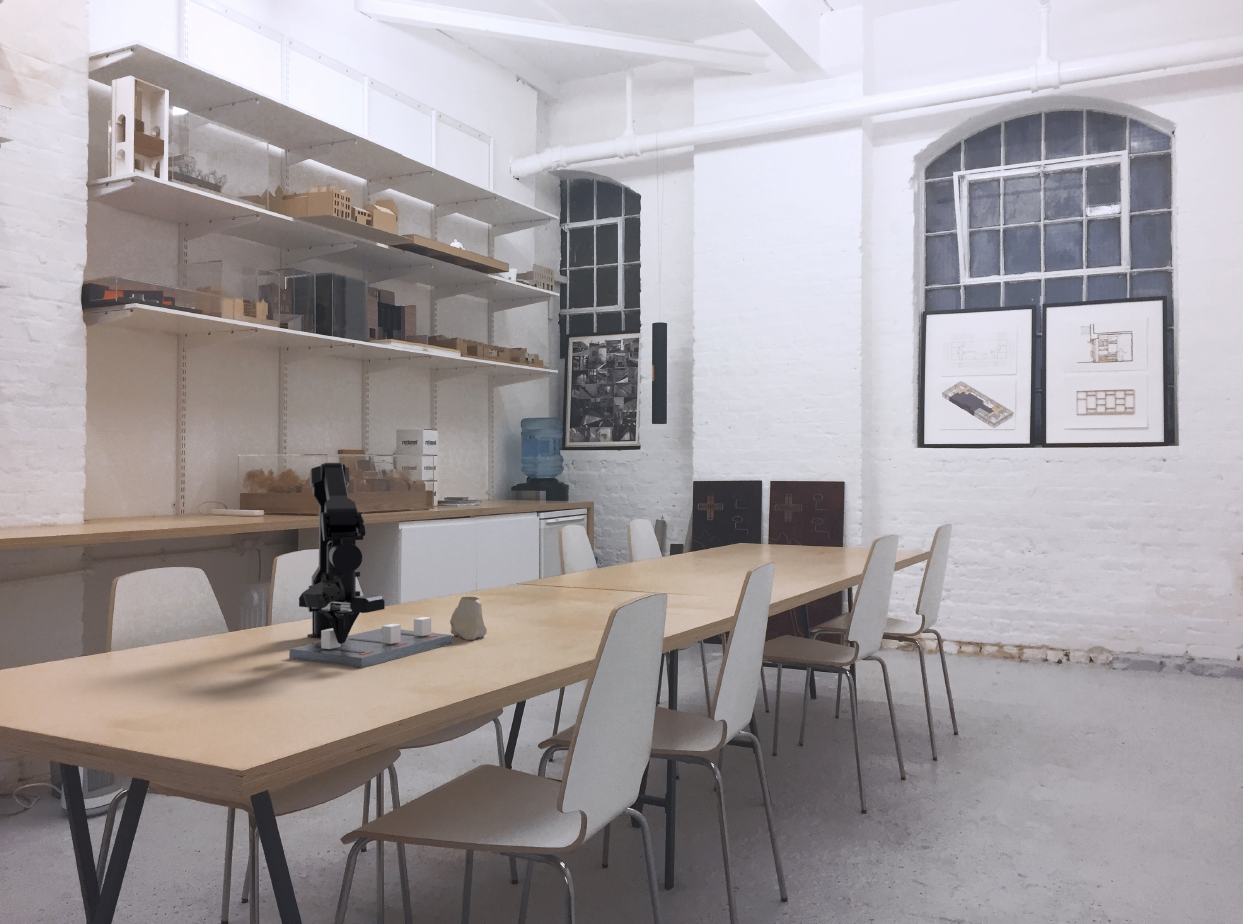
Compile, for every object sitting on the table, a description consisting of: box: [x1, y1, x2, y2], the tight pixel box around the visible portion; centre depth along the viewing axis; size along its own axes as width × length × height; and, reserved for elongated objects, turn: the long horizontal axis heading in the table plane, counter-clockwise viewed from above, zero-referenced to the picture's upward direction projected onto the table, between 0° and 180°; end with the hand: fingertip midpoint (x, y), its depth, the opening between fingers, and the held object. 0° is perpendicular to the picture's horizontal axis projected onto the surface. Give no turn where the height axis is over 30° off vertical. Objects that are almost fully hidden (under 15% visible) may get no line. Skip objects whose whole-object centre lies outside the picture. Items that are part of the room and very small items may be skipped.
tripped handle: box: [320, 628, 341, 649], centre depth 191 cm, size 2×3×4 cm
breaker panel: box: [288, 627, 453, 669], centre depth 199 cm, size 20×28×2 cm
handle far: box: [413, 616, 432, 636], centre depth 206 cm, size 2×3×4 cm
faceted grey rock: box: [449, 596, 488, 641], centre depth 215 cm, size 9×8×10 cm
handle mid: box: [381, 623, 402, 644], centre depth 197 cm, size 2×3×4 cm
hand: (341, 643), depth 190 cm, fingers closed
